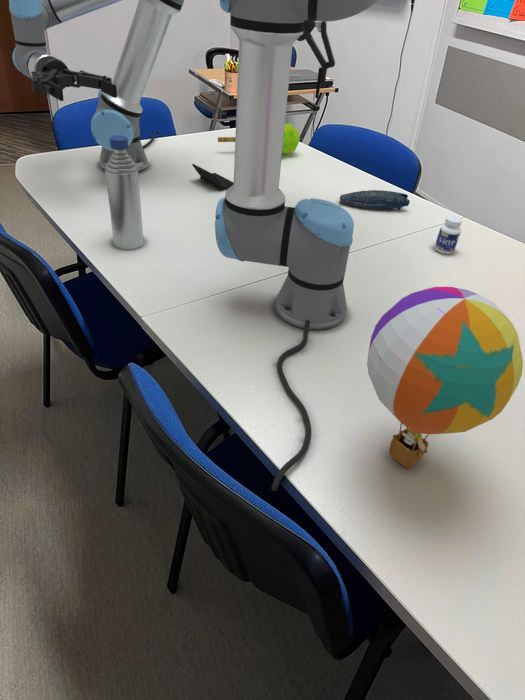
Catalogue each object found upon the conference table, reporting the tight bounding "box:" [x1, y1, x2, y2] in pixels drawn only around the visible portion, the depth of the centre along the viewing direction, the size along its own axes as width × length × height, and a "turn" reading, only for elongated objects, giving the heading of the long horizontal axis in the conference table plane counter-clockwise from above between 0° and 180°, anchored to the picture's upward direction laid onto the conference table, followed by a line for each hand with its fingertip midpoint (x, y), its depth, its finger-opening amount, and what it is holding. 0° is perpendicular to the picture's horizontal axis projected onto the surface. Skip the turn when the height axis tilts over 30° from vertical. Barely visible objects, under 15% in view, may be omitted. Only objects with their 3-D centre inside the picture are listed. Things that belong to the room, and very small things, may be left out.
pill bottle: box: [434, 215, 463, 255], centre depth 137 cm, size 5×5×9 cm
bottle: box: [104, 149, 144, 250], centre depth 123 cm, size 7×7×25 cm
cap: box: [110, 135, 128, 150], centre depth 115 cm, size 4×4×2 cm
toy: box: [366, 286, 524, 469], centre depth 73 cm, size 20×20×30 cm
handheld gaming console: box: [191, 163, 234, 191], centre depth 163 cm, size 12×7×10 cm
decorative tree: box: [217, 123, 301, 155], centre depth 187 cm, size 18×10×30 cm
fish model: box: [339, 189, 411, 211], centre depth 158 cm, size 7×21×5 cm, turn 84°
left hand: (89, 93), depth 122 cm, fingers open, 13 cm apart
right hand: (290, 94), depth 132 cm, fingers open, 13 cm apart
